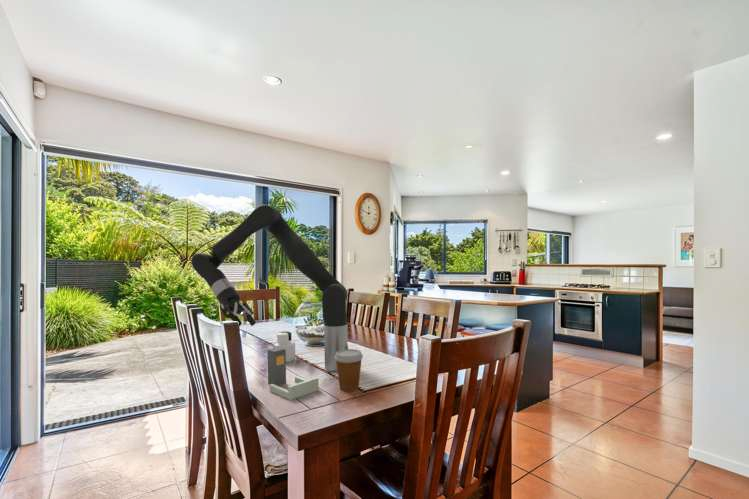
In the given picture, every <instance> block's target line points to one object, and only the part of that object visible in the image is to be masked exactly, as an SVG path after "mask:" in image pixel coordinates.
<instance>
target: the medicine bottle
mask: <svg viewBox="0 0 749 499" xmlns="http://www.w3.org/2000/svg"><path fill="white" fill-rule="evenodd" d="M276 347H280V348H284V349H286V364H287V363H291V362H292V361H293V360H294V359H296V341H292V332H290V331H279V332H278V333H277V334H276V343H275V344H274V345H273V347H272V348H276Z"/></svg>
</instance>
